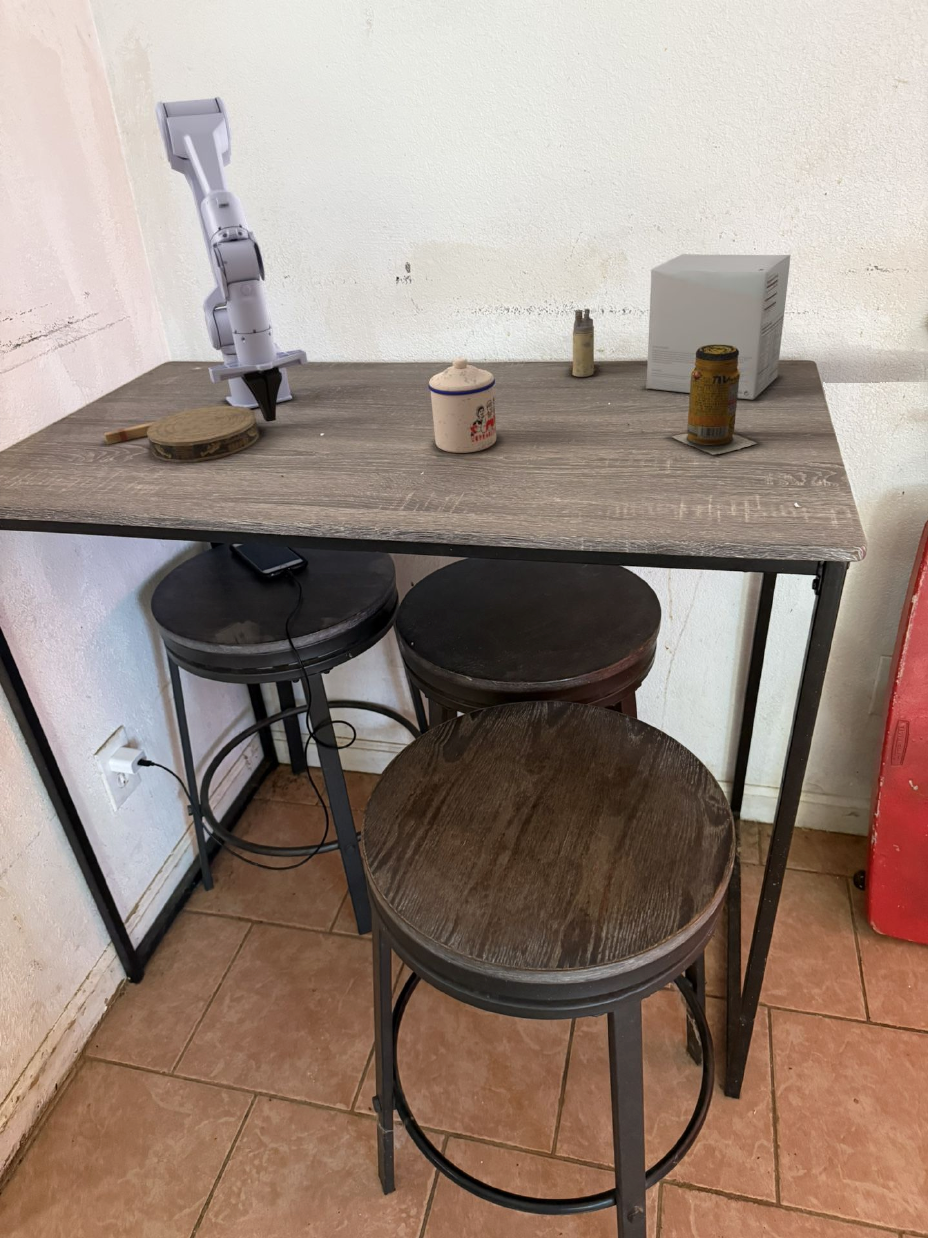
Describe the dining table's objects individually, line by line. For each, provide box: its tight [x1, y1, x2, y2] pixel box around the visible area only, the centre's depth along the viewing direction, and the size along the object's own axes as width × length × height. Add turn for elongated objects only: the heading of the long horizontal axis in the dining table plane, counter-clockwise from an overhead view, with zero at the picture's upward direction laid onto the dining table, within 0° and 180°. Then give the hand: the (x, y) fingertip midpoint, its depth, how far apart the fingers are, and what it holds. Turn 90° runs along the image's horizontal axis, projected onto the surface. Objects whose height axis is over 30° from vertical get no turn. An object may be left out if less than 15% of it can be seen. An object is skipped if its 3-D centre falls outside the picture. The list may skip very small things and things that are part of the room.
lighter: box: [572, 307, 597, 378], centre depth 141 cm, size 7×4×10 cm, turn 171°
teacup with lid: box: [428, 357, 497, 454], centre depth 117 cm, size 12×9×12 cm
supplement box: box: [645, 253, 791, 400], centre depth 128 cm, size 17×13×18 cm
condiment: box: [671, 344, 757, 456], centre depth 109 cm, size 7×8×12 cm
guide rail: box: [103, 420, 158, 445], centre depth 133 cm, size 18×1×2 cm, turn 118°
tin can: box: [146, 405, 260, 463], centre depth 126 cm, size 16×16×3 cm
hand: (269, 419), depth 130 cm, fingers closed
